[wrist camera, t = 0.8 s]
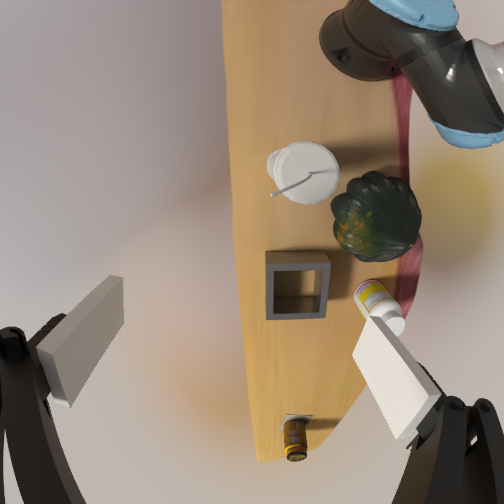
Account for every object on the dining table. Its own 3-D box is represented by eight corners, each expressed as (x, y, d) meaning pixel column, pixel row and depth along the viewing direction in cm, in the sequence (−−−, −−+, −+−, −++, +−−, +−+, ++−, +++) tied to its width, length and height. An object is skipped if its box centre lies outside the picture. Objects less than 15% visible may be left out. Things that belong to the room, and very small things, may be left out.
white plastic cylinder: (303, 176, 44) (377, 210, 16) (267, 187, 45) (284, 238, 17) (293, 145, 42) (356, 124, 14) (257, 156, 43) (256, 150, 15)
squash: (326, 159, 38) (361, 245, 31) (408, 152, 37) (452, 227, 30) (319, 215, 50) (341, 289, 43) (388, 204, 50) (416, 271, 42)
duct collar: (323, 250, 48) (331, 262, 43) (318, 301, 52) (325, 317, 46) (265, 251, 49) (266, 264, 43) (265, 302, 52) (266, 320, 46)
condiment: (278, 429, 67) (280, 462, 55) (286, 414, 64) (289, 449, 53) (302, 430, 67) (306, 463, 56) (312, 415, 64) (317, 449, 53)
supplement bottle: (378, 307, 52) (403, 343, 40) (350, 308, 52) (370, 346, 40) (385, 278, 50) (414, 310, 38) (356, 278, 50) (381, 312, 38)
